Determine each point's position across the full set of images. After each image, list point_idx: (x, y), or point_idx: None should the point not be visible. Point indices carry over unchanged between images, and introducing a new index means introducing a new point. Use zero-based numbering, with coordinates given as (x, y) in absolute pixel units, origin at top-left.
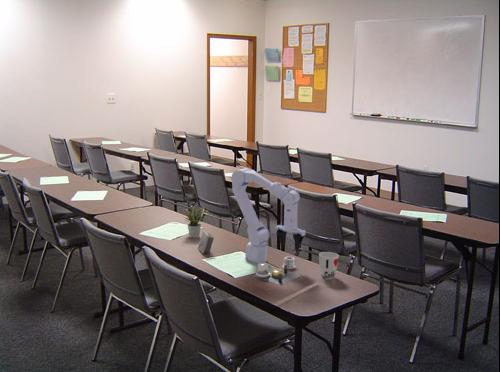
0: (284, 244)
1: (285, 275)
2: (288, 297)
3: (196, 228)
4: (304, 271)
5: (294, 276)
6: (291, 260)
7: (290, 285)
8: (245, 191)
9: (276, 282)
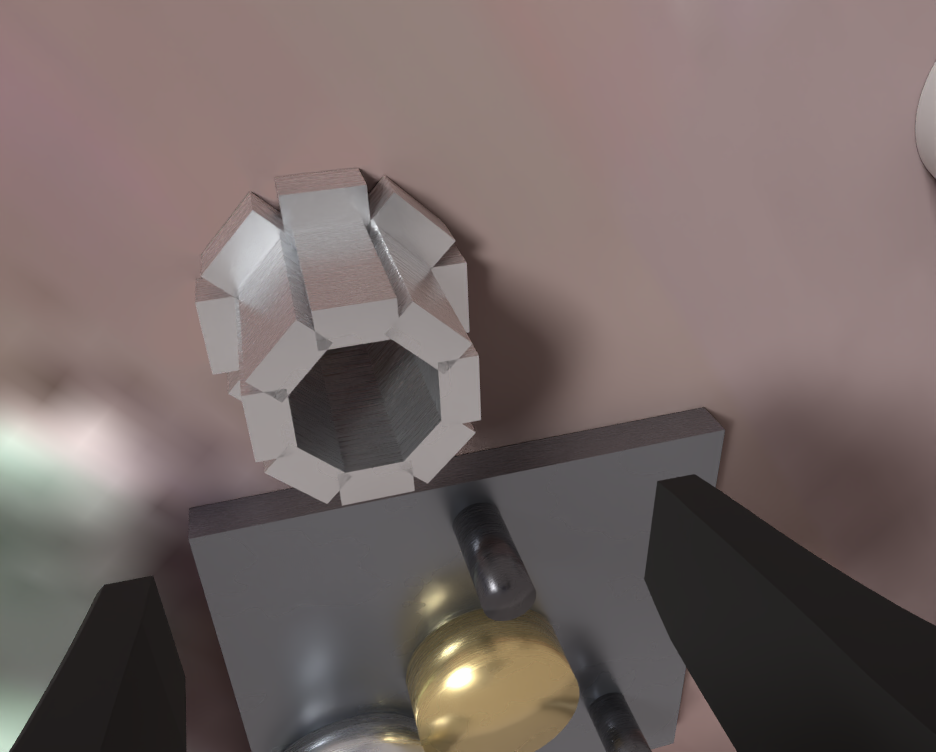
0: (155, 659)
1: (554, 585)
2: None
3: None
4: (600, 174)
5: None
6: (463, 432)
7: None
8: None
9: (600, 745)
